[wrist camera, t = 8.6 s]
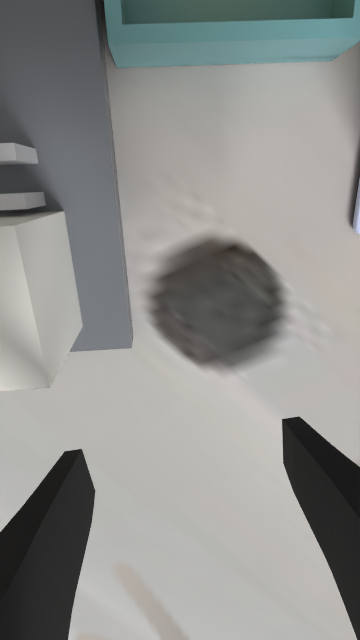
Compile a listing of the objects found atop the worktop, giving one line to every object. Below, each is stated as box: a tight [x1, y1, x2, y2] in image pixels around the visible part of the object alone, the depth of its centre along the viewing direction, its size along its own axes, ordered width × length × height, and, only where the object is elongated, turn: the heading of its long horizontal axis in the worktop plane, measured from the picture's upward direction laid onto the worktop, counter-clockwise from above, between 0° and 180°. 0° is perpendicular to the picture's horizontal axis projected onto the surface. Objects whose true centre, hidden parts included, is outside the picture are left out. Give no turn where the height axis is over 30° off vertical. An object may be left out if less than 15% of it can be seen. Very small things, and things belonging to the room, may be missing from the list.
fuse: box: [0, 211, 83, 391], centre depth 15 cm, size 4×6×6 cm, turn 2°
